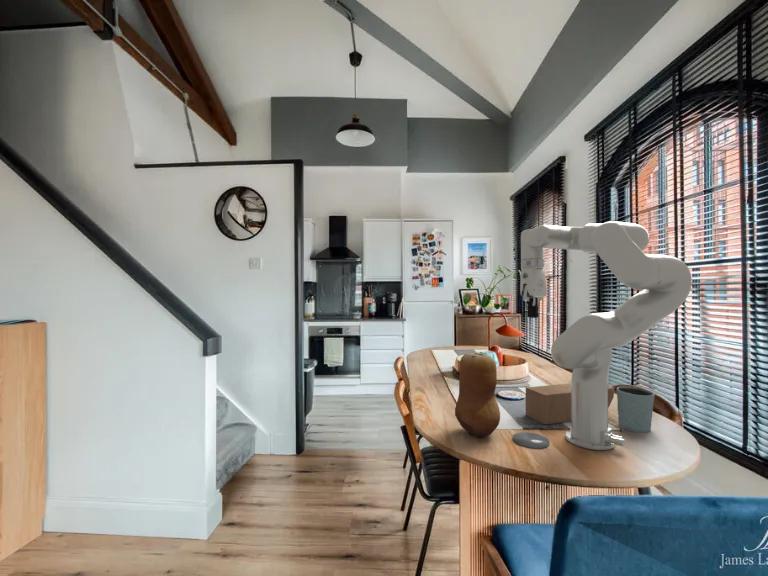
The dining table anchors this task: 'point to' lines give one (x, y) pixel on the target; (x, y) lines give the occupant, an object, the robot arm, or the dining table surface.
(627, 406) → the grey-green cup
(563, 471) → the dining table surface
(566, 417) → the decorative block
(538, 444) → the grey dome
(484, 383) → the butternut squash
